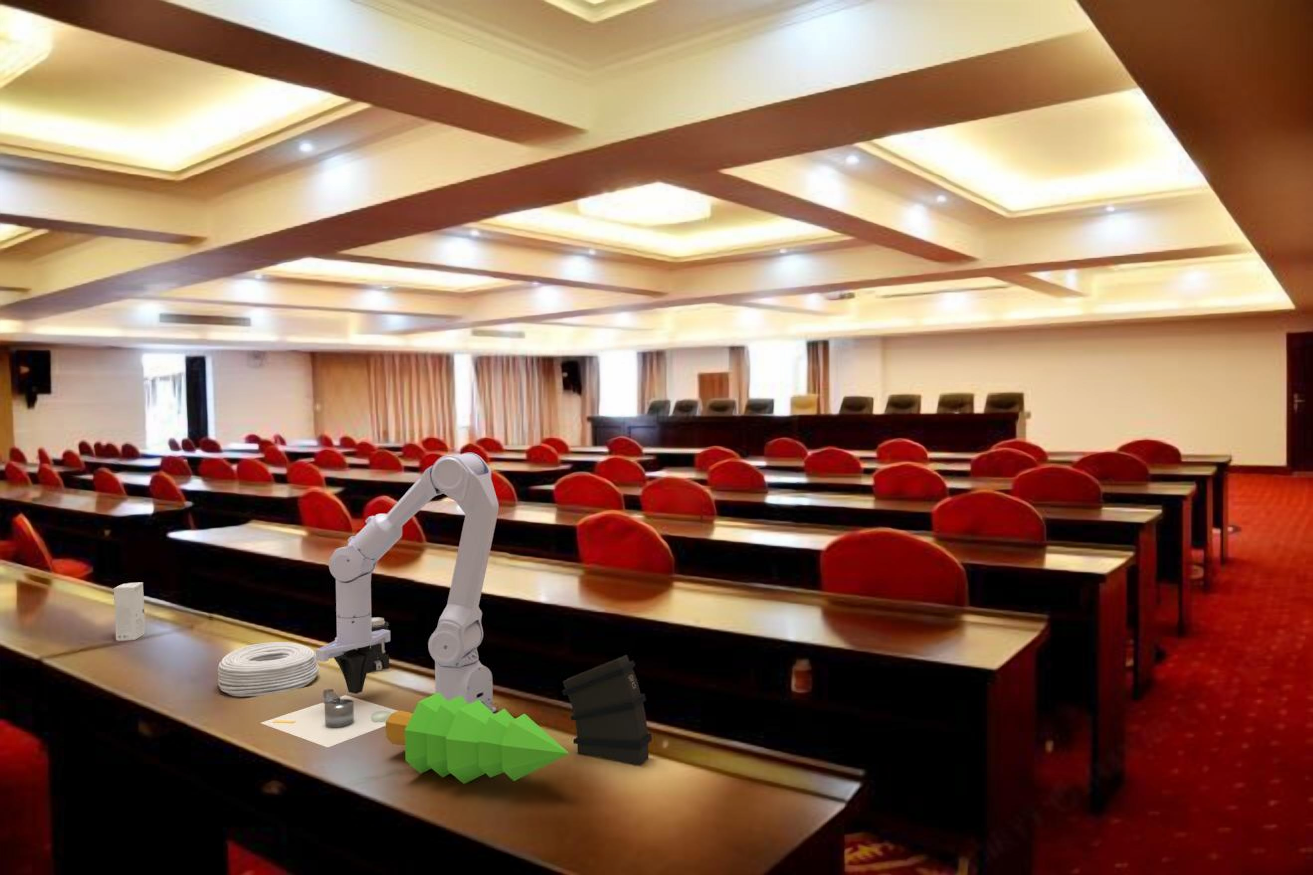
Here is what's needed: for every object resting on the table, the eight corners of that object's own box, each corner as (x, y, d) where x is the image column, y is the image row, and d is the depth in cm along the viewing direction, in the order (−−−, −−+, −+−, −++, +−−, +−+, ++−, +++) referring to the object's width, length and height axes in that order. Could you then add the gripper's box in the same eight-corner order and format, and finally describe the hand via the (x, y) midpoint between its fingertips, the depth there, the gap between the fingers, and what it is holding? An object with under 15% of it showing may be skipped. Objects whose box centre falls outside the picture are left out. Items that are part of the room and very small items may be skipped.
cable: (260, 667, 172) (259, 637, 171) (337, 672, 168) (337, 642, 168) (196, 696, 155) (195, 663, 154) (281, 702, 151) (280, 669, 151)
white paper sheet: (413, 721, 141) (412, 710, 141) (327, 753, 128) (327, 741, 128) (345, 700, 151) (345, 690, 151) (260, 728, 138) (260, 717, 138)
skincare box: (136, 640, 192) (135, 586, 191) (114, 641, 191) (112, 587, 190) (146, 633, 198) (145, 581, 197) (124, 634, 197) (123, 582, 196)
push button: (363, 676, 165) (362, 625, 164) (350, 670, 168) (349, 620, 168) (394, 668, 169) (393, 619, 169) (381, 663, 173) (380, 614, 173)
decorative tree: (407, 671, 128) (578, 691, 115) (430, 731, 132) (598, 757, 119) (356, 723, 119) (535, 752, 105) (382, 786, 123) (558, 821, 110)
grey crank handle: (357, 723, 137) (357, 702, 137) (329, 729, 134) (328, 707, 134) (340, 706, 145) (340, 686, 145) (313, 711, 142) (313, 691, 142)
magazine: (658, 759, 121) (618, 659, 123) (587, 783, 126) (549, 687, 129) (670, 750, 124) (630, 653, 127) (600, 773, 130) (563, 679, 132)
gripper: (370, 603, 156) (371, 676, 156) (302, 620, 143) (304, 700, 144) (398, 607, 152) (399, 682, 153) (331, 625, 140) (333, 707, 140)
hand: (355, 691), depth 148 cm, fingers closed
